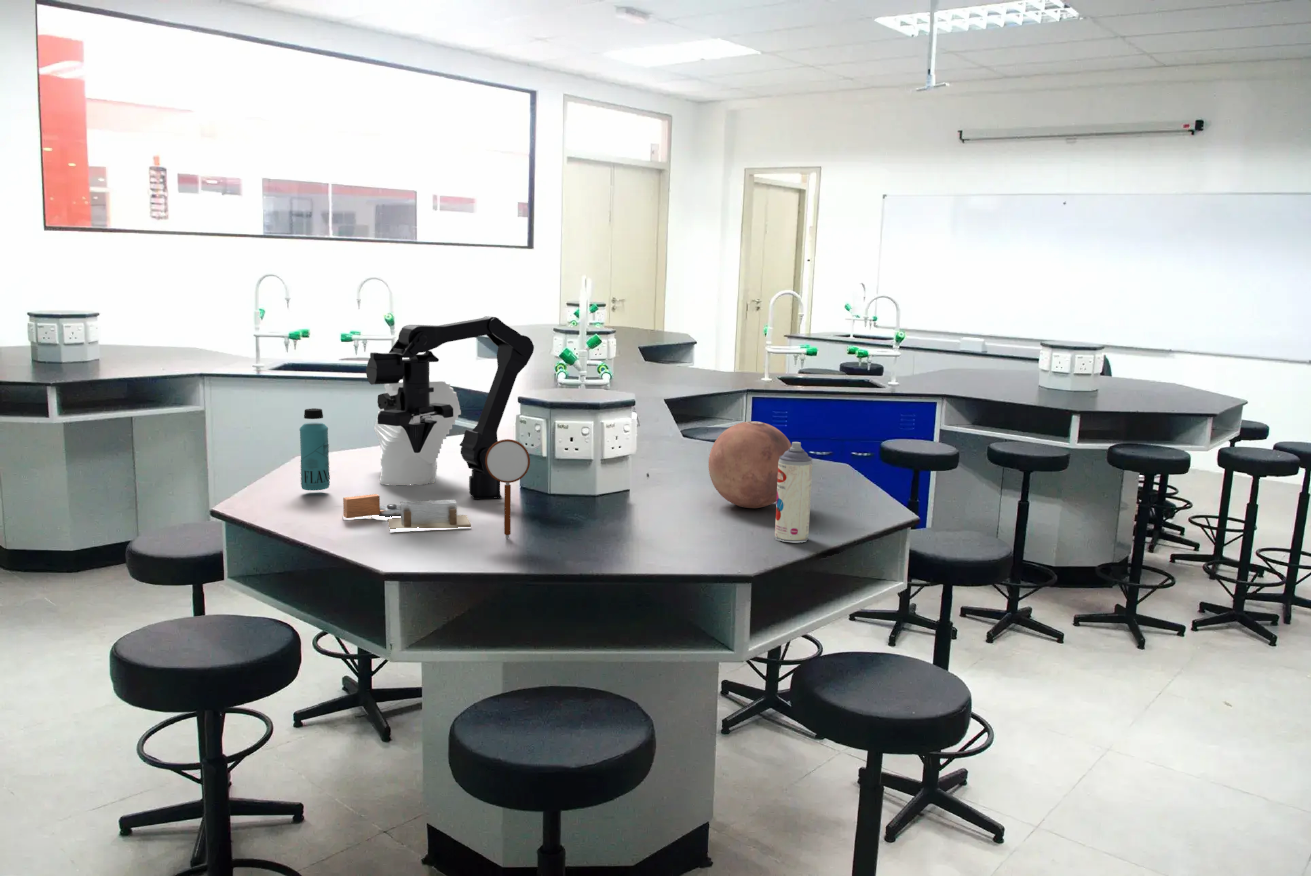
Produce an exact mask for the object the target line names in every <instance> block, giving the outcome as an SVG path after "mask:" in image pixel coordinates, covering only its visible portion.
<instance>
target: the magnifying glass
mask: <svg viewBox="0 0 1311 876" xmlns="http://www.w3.org/2000/svg"><path fill="white" fill-rule="evenodd" d="M485 464H486V468H487V470H488V472H489V474H490V475H491V476H492V477H493V478H494V479H496V480H498V481H500V483H504V499H503V500H504V502H503V503H504V506H503V507H504V508H503V509H504V513H503V514H504V515H503V516H504V519H503V521H504V523H503V524H504V527H503V528H504V529H503V531H504V532H503V533H504V535H505V539H506V538H509V539H510V535H511V523H512V522H511V516H512V514H511V511H512V510H511V507H512V506H511V503H512V500H511V499H512V497H511V495H512V494H511V490H512V484H511V483H514V482H518V481H520V480H521V479H523V478H524V477H525V476H526V475H527V473H528V471H529V469H530V465H531V457H530V454H529V451H528V450H527V448H526V447H525V446H524V445H523V444H522V443H521V442H520V441H517V440H514V439H509V438H507V439H506V438H504V439H500V440H498V442H496V443H494V444H493V445H492V446H491V447H490V448H489V450H488V452H487V454H486V458H485Z"/></svg>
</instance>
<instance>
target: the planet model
mask: <svg viewBox="0 0 1311 876" xmlns="http://www.w3.org/2000/svg"><path fill="white" fill-rule="evenodd" d="M790 447H792V442H791V441H790V440H789V439H788V437H787V436H786V434H784V433H783V432H782V431H781V430H780V429H778V428H777V427H775V426H773V425H771V424H769V423H765V422H762V421H754V420H753V421H750V420H749V421H744V422H738V423H736V424H733V425H731V426H730V427H727V428H726V429H725V430H724V431H723V432H722V433H720V434H719V435H718V437H717V438H716V440H714V443H713V445H712V447H711V449H710V453H709V456H708V472H709V478H710V481H711V482H712V485H713V487H714V489H715V490H716V491H717V492H718V494H720V496H721V497H722V498H723V499H724V500H726V501H727V502H729V503H731V504H733V505H735V506H737V507H740V508H746V509H760V508H764V507H768V506H769V505H772V504H774V503H776V501H777V481H778V462H779V459H780V458H779V457H780V456H782V455H783V454H784V453H785V452H786V451H788V449H790Z"/></svg>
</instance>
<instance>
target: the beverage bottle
mask: <svg viewBox="0 0 1311 876" xmlns="http://www.w3.org/2000/svg"><path fill="white" fill-rule="evenodd" d="M323 418H324V414H323V409H322V408H305V409H304V414H303V419H307V420H319V419H323ZM299 441H300V446H299V447H300V466H299V467H300V487H301V489H302V490H304V491H321V490H322V491H324V490H327V489H329V487H330V485H331V484H330V480H331V479H330V478H331V475H330V471H331V470H330V468H331V467H330V460H329V459H330V457H329V454H330V450H329V448H330V445H329V428H328V426H327V425H326V424H325V423H323V422H318V421H317V422H306V423H303V424H302V425H301V426H300V427H299Z"/></svg>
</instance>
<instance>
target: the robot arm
mask: <svg viewBox="0 0 1311 876" xmlns="http://www.w3.org/2000/svg"><path fill="white" fill-rule="evenodd" d="M483 336H486V337H488V339H489V340H490V342H491V343H492V344H493V345H495V346H496V347H497V351H496V362H497V363H496V364H497V369H496V372H495V375H494V377H493V381H492V383H491V386H490V388H489V391H488V394H487V397H486V399H485V403H484V405H483V407H482V411H481V414H480V416H479V419H478V422H477V424H476V426H475V427H473V429H472V430H470V429H465V431H464V433H463V434H464V435H463V437H462V438H463V439H462V441H461V442H460V443H459V446H460V455H461V458H462V459H463V461H464V462H466V464H467V467H468V469H470V470H471V475H470V476H468V477H469V479H468V487H469V488H468V490H469V491H468V494H469V495H470V496H471V497H472V499H473V500H487V499H488V500H489V499H502V495H501V482H500V481H498V480H496V479H494V478H493V477H492V476H491V475H490V474H489V472H488V470H487V468H486V464H485V458H486V454H487V452H488V450H489V448H490V447H491V446H492V445H493V444H494V443H496V442H498V441H499V440H498V429H499V427H500V424H501V421H502V419H503V416H504V412H505V410H506V409H507V408H506V407H507V405H508V402H509V399H510V397H511V393H512V390H513V388H514V385H515V382H516V380H517V377H518V375H519V373H521V371H522V370H523V369H524V368H525V367H526V366H527V364H529V361H530V360H531V357H532V355H533V353H534V349H535V345H534V343H533V341H532V339H531V338H530V337H529V336H526V335H524V334H522V335H521V334H520V332H518V331H517V330H515V329H513V328H512V327H510V326H509V325H507V324H506V323H504V321H502V320H501V319H500V318H498V317H496V316H489V315H488V316H485V315H484V316H483V317H479V318H475V319H474V318H473V319H470V320H469V319H468V320H463V321H458V322H456V321H455V322H451V323H445V324H440V325H438V324H437V325H431V324H430V325H429V324H407V325H404V326H402V328H401V329H400V331H399V333H398V339H397V340H396V341H395V343H394V344H393V345H392V347H391V348H390V350H389V351H388V352H384V353H381V352H370V353H369V354H370V355H369V356H370V358H369V359H368V360H367V364H366V367H365V371H366V373H365V374H366V378H367V381H368V383H369V384H370V385H371V386H374V385H384V384H397V383H399V381H400V380H402V379H403V387H399V389H398V394H397V395H393V396H390V395H389V394H388V393H385V392H384V393H380V394H378V395H377V400H376V401H377V407H378V409H379V408H380V409H384V411H380V413H379V414H378V413H377V415H378V424H383V425H391V426H402V427H403V428H404V429H405V431H406V433H407V435H408V437H409V440H410V443H411V445H412V448H413V451H414V453H420V451H421V449H422V447H423V445H424V443H425V441H426V439H427V437H428V435H429V433H430V431H431V429H432V428H433V426H434V424H436V423H437V421H433V420H432V417H431V416H434V415H440V416H443V417H444V418H449V417H453V408H452V406H451V405H450V404H440V403H431V404H430V392H434V387H430V383H429V382H430V379H429V375H430V363H439V361H440V359H439V358H438V357H437V356H436V355H435V354H434V353H433V352H432V350H433V349H436V348H439V347H441V346H442V345H444V344H447V343H449V342H450V343H451V342H455V341H460V340H466V339H472V338H476V337H483ZM419 353H422V354H419Z"/></svg>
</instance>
